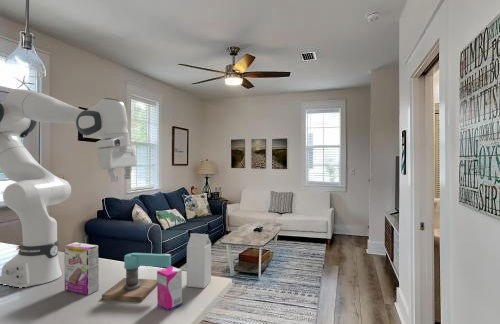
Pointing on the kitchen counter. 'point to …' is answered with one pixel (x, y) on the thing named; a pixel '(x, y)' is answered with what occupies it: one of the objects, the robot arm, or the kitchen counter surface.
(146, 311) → the kitchen counter surface
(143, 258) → the teal lever handle
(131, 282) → the tan square panel
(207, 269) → the milk carton
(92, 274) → the candy bar box
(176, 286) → the supplement box
